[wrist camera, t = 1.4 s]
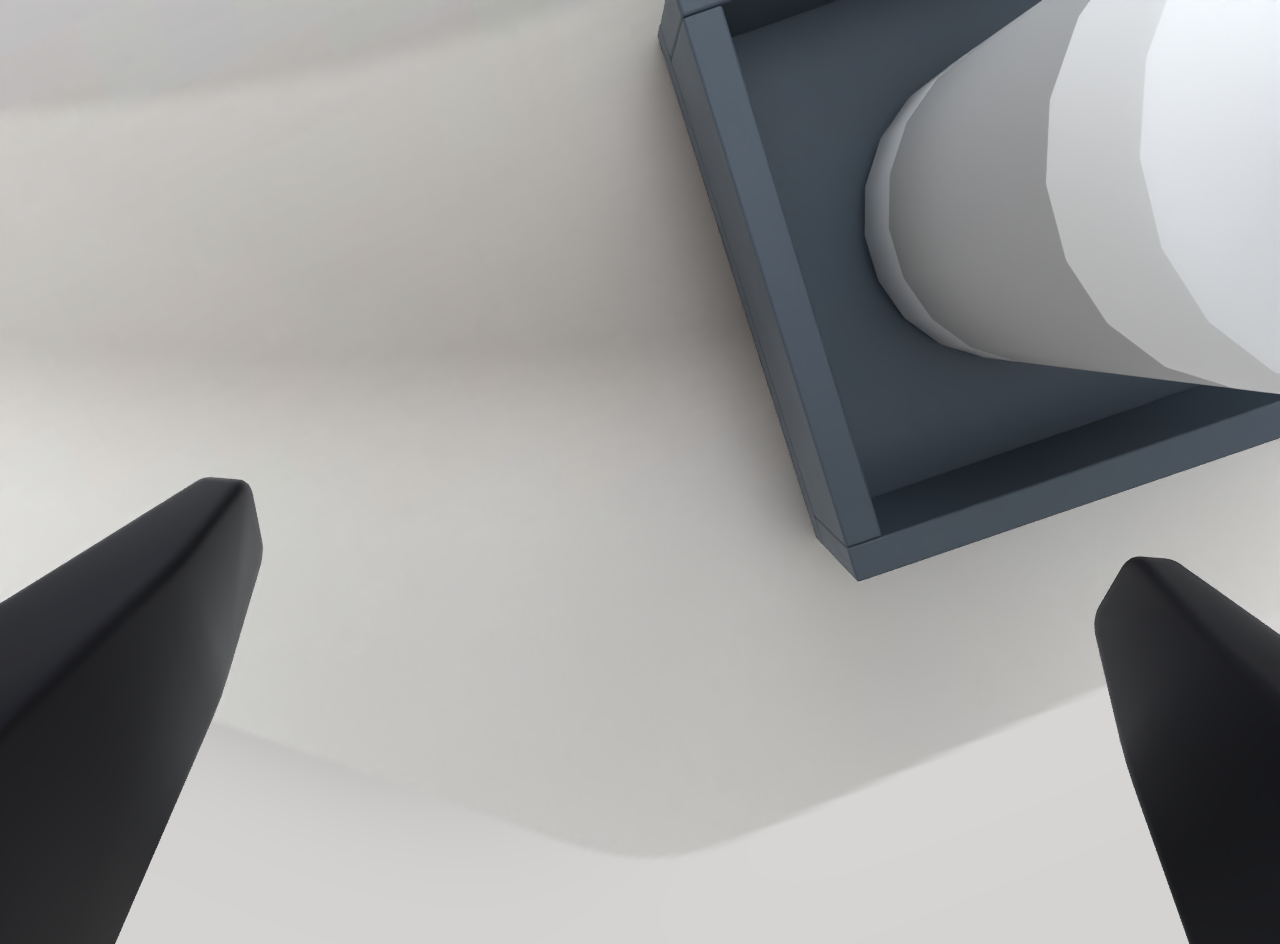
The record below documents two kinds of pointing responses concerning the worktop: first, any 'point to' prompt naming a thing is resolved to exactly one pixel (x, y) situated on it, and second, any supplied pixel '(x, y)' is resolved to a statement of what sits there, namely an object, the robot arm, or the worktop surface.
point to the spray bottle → (1095, 193)
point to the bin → (865, 314)
